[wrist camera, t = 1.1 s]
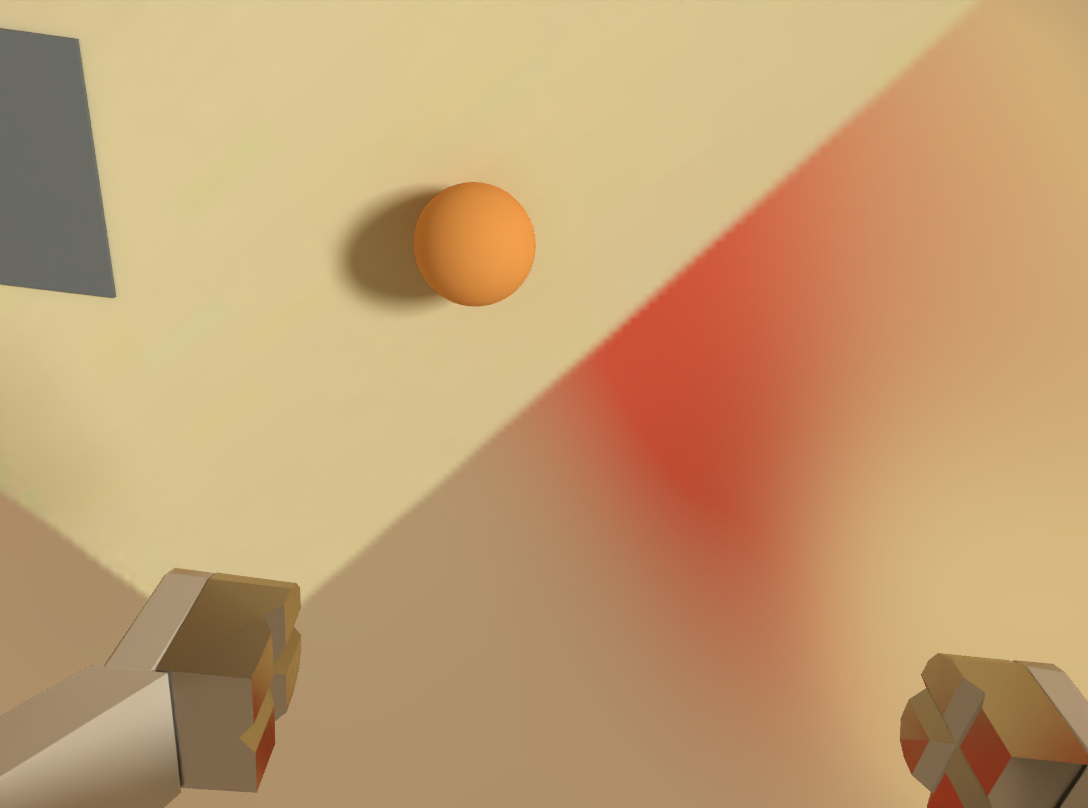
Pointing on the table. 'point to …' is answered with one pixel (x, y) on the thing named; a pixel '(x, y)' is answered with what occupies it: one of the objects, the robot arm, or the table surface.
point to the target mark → (49, 170)
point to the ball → (474, 244)
